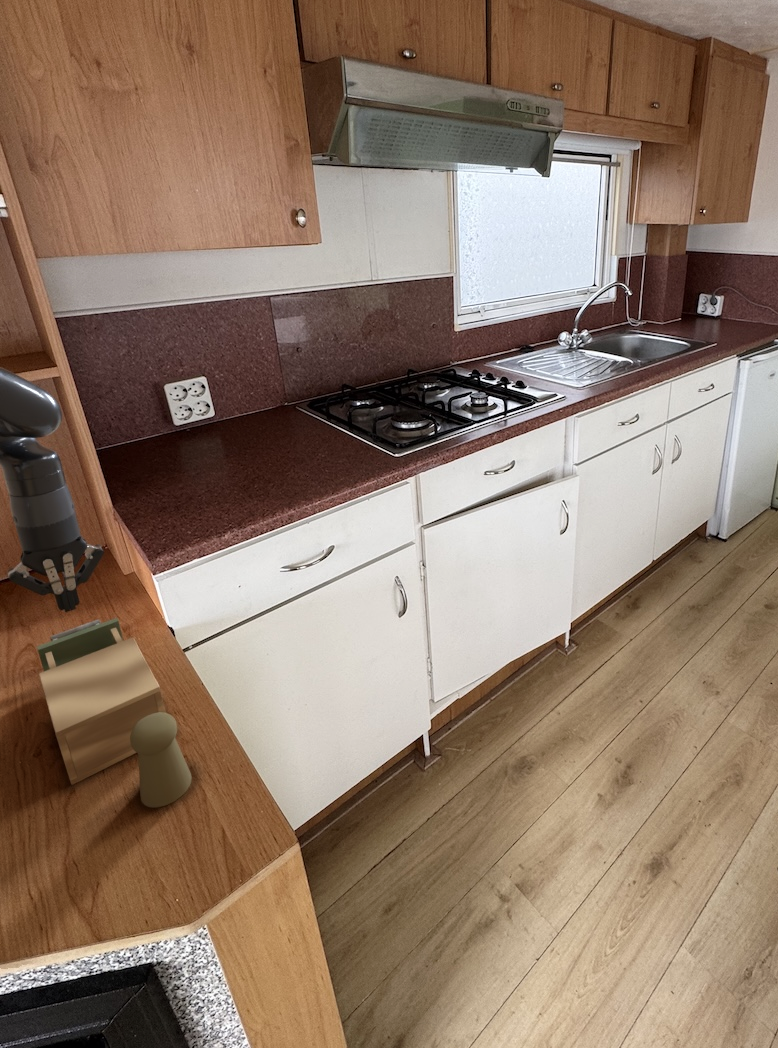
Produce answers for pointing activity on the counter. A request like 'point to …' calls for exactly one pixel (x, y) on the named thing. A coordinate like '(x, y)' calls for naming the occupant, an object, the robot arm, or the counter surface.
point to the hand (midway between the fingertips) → (69, 608)
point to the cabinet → (100, 706)
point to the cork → (159, 760)
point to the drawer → (79, 642)
